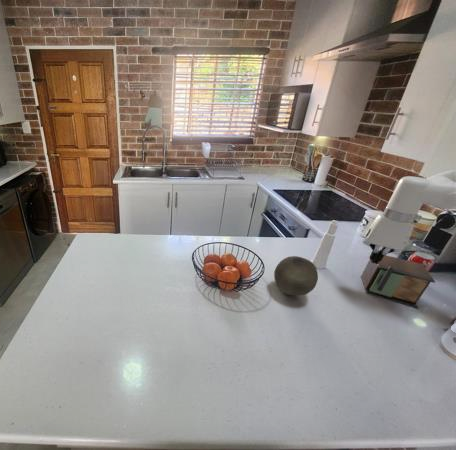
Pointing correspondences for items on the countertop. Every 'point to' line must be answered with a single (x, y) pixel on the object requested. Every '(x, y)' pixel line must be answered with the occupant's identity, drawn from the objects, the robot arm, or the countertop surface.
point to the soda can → (422, 259)
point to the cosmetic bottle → (325, 246)
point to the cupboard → (409, 286)
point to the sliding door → (386, 282)
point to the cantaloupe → (296, 276)
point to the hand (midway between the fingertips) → (373, 261)
